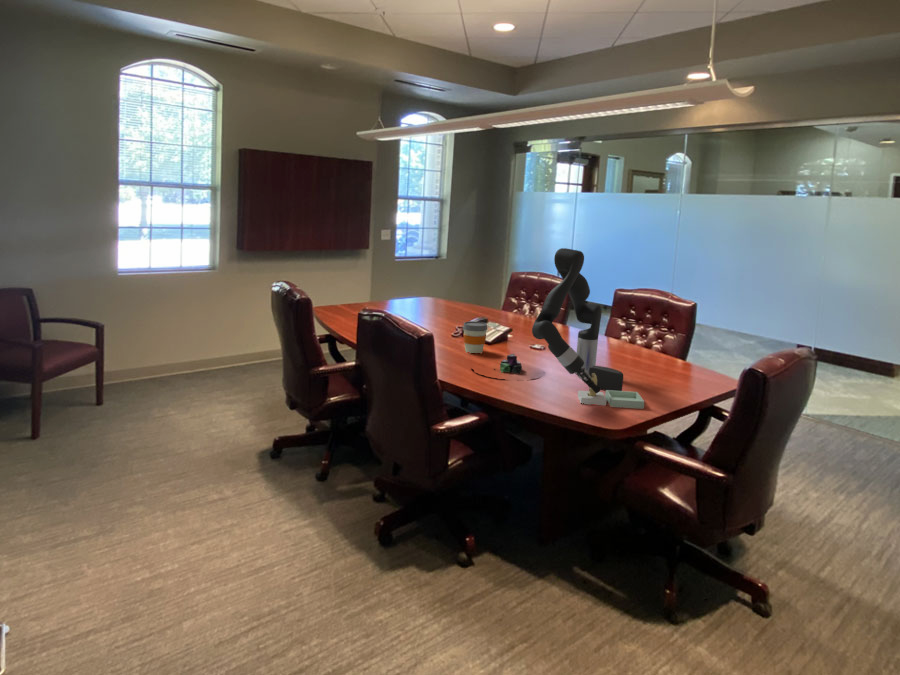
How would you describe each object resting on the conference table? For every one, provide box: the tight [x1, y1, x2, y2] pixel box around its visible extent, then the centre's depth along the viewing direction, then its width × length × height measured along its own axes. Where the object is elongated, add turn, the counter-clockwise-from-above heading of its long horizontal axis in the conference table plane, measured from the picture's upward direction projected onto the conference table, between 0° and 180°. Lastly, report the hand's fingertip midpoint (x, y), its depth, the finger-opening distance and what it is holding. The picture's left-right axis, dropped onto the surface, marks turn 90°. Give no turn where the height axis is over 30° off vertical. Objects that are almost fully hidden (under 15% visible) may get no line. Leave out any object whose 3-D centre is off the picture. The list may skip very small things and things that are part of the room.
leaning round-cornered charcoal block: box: [589, 365, 624, 391], centre depth 280 cm, size 16×5×9 cm, turn 47°
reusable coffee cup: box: [462, 320, 488, 354], centre depth 337 cm, size 12×13×15 cm
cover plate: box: [577, 390, 608, 406], centre depth 263 cm, size 10×10×2 cm
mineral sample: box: [499, 353, 540, 381], centre depth 304 cm, size 35×35×9 cm
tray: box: [604, 390, 645, 410], centre depth 263 cm, size 13×13×3 cm
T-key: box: [588, 373, 597, 396], centre depth 262 cm, size 5×2×11 cm, turn 177°
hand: (597, 390), depth 263 cm, fingers closed on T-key, 2 cm apart
